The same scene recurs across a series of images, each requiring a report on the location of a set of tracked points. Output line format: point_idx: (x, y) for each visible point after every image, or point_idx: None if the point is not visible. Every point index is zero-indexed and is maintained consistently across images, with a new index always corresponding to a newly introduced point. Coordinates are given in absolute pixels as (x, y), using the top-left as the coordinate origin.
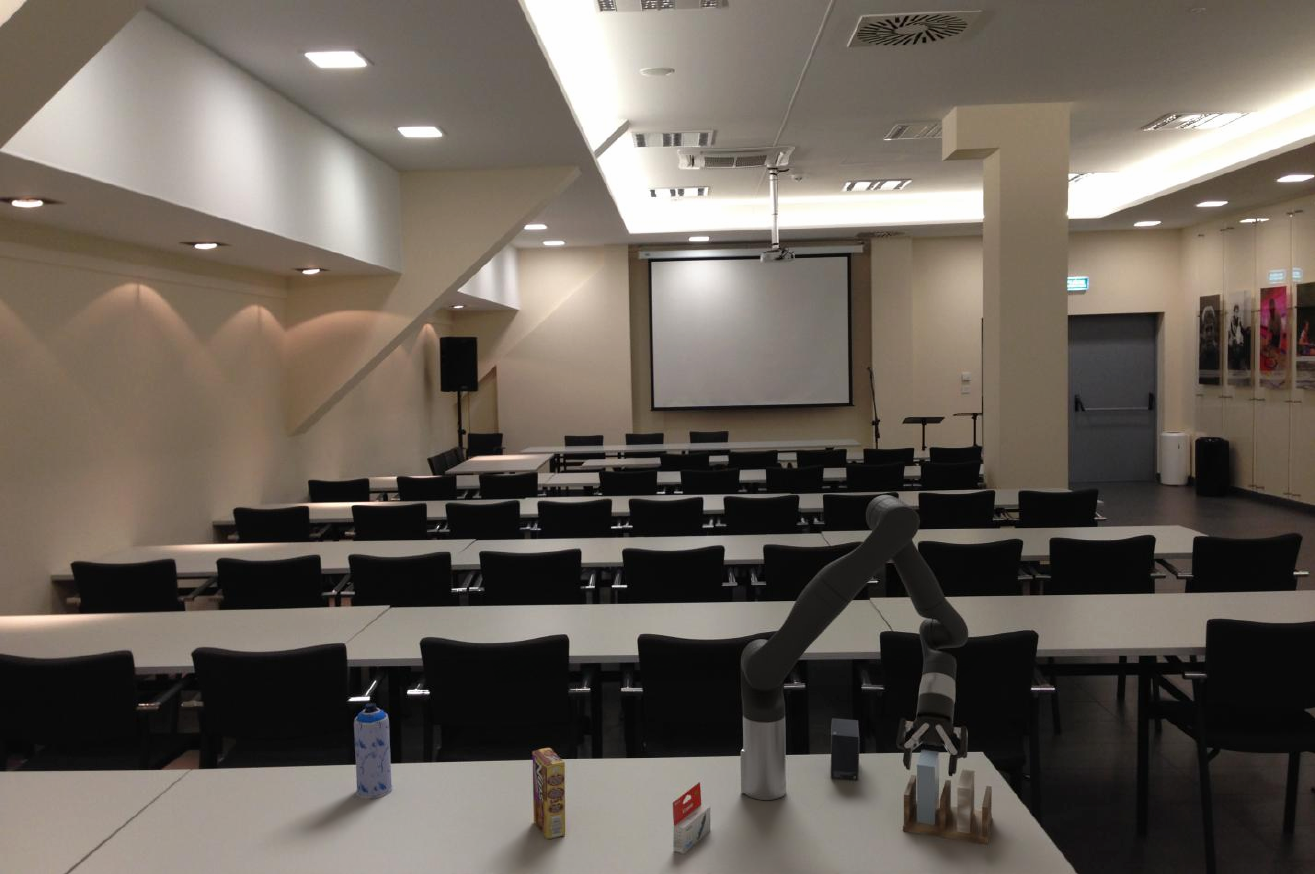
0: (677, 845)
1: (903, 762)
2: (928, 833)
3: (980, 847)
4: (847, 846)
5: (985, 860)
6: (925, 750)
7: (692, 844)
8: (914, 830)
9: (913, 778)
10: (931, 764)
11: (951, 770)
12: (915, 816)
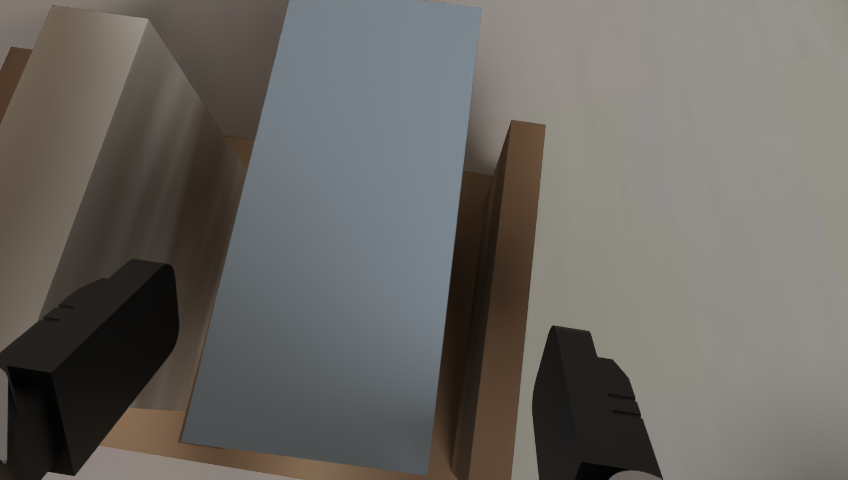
0: None
1: (617, 368)
2: None
3: None
4: (724, 17)
5: (168, 14)
6: (373, 450)
7: None
8: None
9: (489, 414)
10: (324, 38)
11: (129, 261)
12: (453, 289)
